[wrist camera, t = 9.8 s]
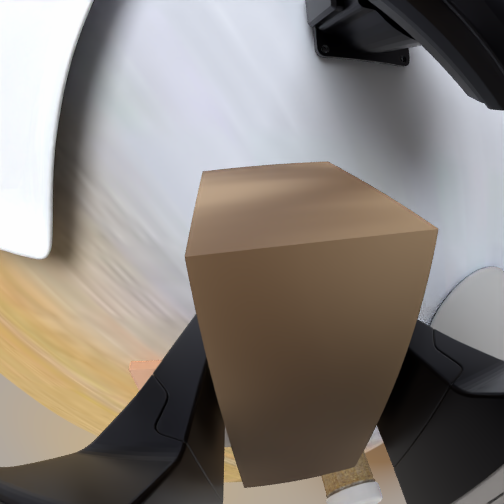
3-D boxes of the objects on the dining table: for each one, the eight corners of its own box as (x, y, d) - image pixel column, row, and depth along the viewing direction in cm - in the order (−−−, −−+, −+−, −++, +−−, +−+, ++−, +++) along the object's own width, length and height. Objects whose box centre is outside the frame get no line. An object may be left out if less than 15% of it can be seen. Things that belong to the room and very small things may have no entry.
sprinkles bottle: (339, 402, 30) (378, 506, 18) (299, 412, 29) (328, 522, 17) (342, 378, 28) (389, 494, 16) (298, 389, 27) (332, 512, 15)
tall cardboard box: (366, 160, 8) (488, 223, 4) (332, 417, 14) (358, 496, 10) (158, 177, 8) (91, 267, 4) (220, 434, 14) (226, 519, 9)
